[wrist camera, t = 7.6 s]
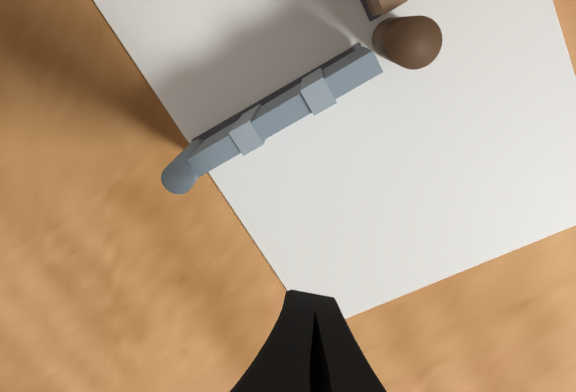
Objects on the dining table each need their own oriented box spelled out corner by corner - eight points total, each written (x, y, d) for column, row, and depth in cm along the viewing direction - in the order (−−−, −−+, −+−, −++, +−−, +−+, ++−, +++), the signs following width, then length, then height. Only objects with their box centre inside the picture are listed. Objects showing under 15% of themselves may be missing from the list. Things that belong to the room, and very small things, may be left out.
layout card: (610, 206, 19) (615, 209, 19) (314, 327, 23) (314, 331, 23) (448, -329, 13) (452, -339, 13) (70, -39, 17) (65, -40, 16)
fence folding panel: (197, 168, 19) (173, 199, 16) (182, 147, 19) (154, 173, 15) (372, 67, 17) (387, 78, 14) (359, 41, 17) (371, 45, 13)
